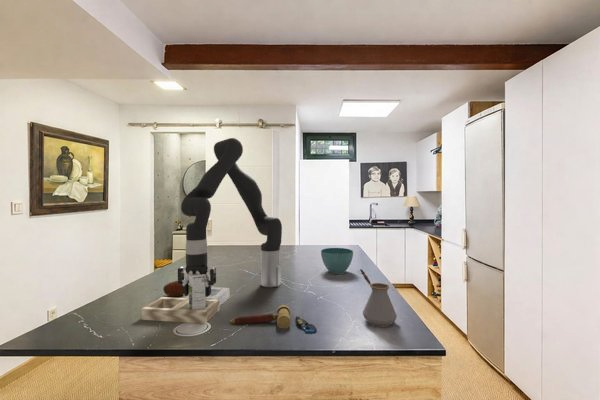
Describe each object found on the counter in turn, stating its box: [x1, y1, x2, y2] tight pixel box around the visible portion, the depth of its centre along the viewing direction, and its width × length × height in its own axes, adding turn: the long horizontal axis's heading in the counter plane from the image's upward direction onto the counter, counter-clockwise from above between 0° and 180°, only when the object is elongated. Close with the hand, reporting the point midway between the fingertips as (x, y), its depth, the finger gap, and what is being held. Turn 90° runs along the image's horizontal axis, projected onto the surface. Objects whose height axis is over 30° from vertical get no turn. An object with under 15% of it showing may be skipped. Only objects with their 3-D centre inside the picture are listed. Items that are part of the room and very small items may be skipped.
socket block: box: [185, 286, 231, 307], centre depth 125 cm, size 13×13×4 cm
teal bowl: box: [320, 247, 354, 275], centre depth 171 cm, size 18×18×12 cm
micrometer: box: [295, 315, 317, 334], centre depth 102 cm, size 12×2×5 cm
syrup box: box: [188, 273, 207, 310], centre depth 110 cm, size 6×6×14 cm
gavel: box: [229, 304, 292, 329], centre depth 105 cm, size 21×5×10 cm
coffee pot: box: [357, 268, 398, 328], centre depth 109 cm, size 21×12×15 cm, turn 14°
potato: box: [163, 280, 185, 297], centre depth 132 cm, size 7×9×6 cm
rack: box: [140, 296, 220, 325], centre depth 111 cm, size 24×12×4 cm, turn 82°
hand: (197, 295), depth 110 cm, fingers closed on syrup box, 7 cm apart
